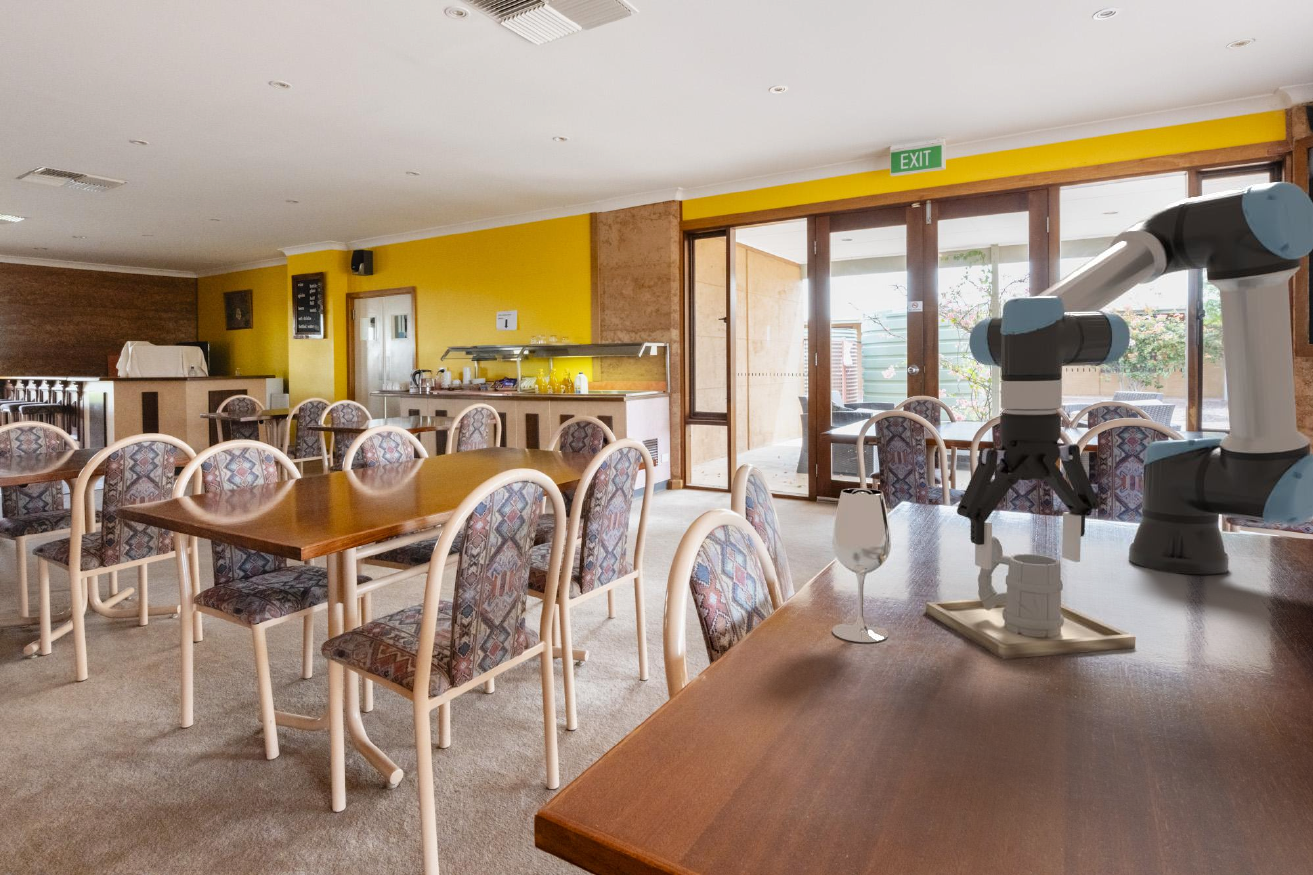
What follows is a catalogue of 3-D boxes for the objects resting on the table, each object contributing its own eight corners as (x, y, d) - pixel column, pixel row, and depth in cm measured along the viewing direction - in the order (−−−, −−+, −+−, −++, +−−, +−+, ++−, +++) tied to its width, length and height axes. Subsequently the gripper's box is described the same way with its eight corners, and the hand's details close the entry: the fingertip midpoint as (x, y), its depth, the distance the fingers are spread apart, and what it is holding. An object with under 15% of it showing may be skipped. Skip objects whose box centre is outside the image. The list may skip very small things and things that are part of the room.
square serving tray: (1039, 603, 120) (1039, 594, 120) (1135, 647, 101) (1135, 636, 101) (925, 612, 117) (925, 602, 116) (1003, 659, 98) (1003, 647, 98)
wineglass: (890, 627, 110) (893, 488, 108) (888, 646, 103) (890, 497, 101) (834, 621, 113) (836, 485, 111) (828, 639, 106) (829, 494, 104)
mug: (1047, 643, 102) (1051, 553, 101) (963, 620, 111) (965, 538, 110) (1073, 630, 107) (1076, 544, 106) (990, 609, 116) (993, 530, 115)
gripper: (1091, 406, 112) (1087, 550, 114) (931, 413, 108) (930, 563, 110) (1131, 409, 105) (1126, 563, 107) (962, 417, 100) (960, 577, 102)
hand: (1027, 563), depth 108 cm, fingers open, 13 cm apart
